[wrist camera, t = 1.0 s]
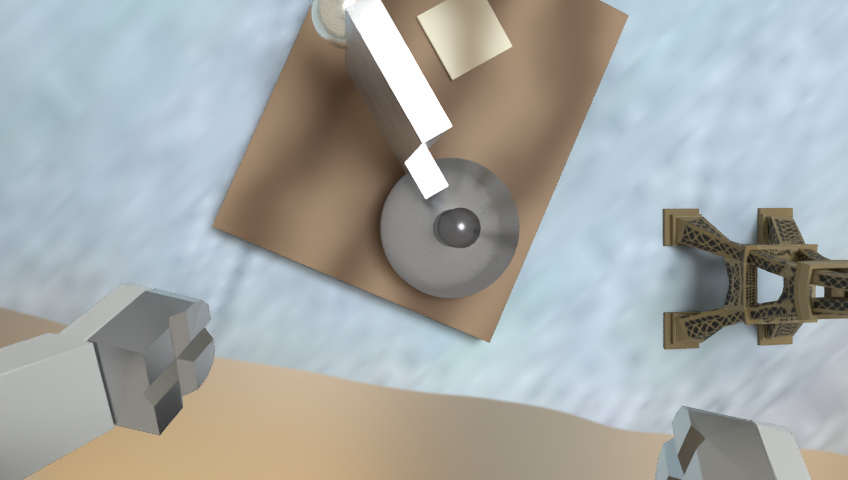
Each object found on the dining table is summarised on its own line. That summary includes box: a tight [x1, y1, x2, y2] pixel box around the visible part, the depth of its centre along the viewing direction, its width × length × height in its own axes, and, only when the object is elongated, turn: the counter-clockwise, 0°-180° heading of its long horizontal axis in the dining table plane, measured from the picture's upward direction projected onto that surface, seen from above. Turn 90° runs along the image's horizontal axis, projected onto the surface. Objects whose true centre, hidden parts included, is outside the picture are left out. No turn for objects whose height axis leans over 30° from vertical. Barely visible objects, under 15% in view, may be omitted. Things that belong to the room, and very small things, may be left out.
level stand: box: [213, 0, 629, 343], centre depth 35 cm, size 20×25×13 cm
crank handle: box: [311, 0, 520, 298], centre depth 33 cm, size 20×9×12 cm, turn 31°
